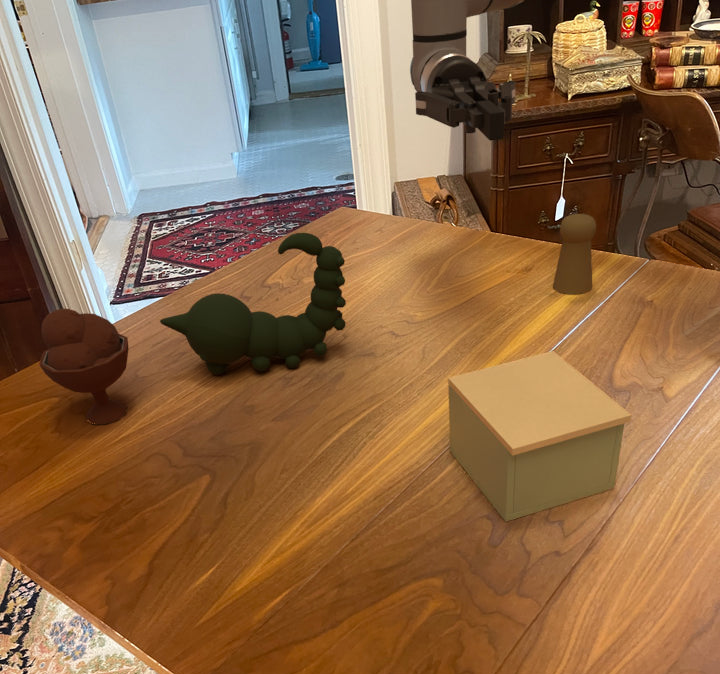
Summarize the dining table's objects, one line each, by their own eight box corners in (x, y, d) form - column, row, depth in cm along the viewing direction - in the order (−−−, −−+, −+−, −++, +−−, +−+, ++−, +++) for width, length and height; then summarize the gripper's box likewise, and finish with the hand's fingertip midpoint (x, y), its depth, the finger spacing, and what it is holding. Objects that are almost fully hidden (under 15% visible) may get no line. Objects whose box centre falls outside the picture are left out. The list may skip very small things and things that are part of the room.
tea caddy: (614, 488, 76) (625, 417, 71) (505, 522, 74) (508, 451, 68) (547, 423, 87) (552, 357, 81) (449, 450, 84) (448, 384, 79)
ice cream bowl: (94, 446, 92) (52, 338, 83) (50, 418, 98) (7, 315, 89) (163, 408, 97) (131, 303, 88) (118, 384, 104) (83, 284, 95)
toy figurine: (339, 346, 110) (170, 360, 107) (337, 219, 99) (147, 230, 96) (350, 376, 103) (168, 392, 100) (348, 242, 92) (143, 255, 88)
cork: (567, 275, 119) (573, 207, 112) (600, 284, 115) (608, 214, 109) (544, 288, 116) (549, 218, 109) (577, 297, 112) (584, 226, 106)
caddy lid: (630, 421, 70) (631, 414, 70) (512, 455, 68) (512, 448, 67) (552, 356, 81) (552, 350, 81) (448, 384, 79) (447, 377, 78)
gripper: (500, 111, 100) (553, 155, 82) (406, 123, 100) (438, 170, 81) (502, 49, 96) (558, 80, 77) (403, 61, 95) (436, 95, 77)
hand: (496, 126), depth 79 cm, fingers closed
